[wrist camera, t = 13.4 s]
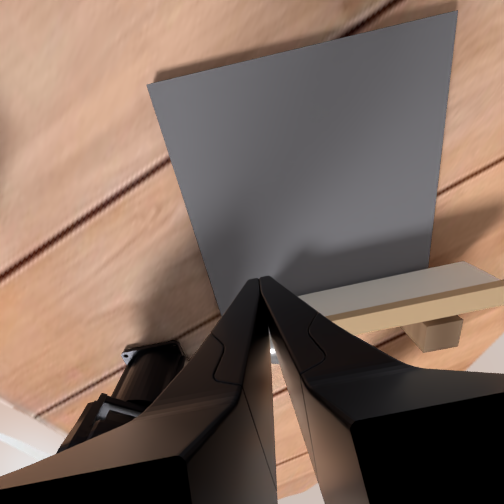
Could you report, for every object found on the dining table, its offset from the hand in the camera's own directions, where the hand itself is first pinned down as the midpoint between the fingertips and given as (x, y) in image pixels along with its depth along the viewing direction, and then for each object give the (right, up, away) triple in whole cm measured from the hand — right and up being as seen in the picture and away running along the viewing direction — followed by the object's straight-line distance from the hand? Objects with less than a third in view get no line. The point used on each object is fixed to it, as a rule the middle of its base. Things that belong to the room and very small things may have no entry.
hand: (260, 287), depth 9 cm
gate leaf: (+12, -2, +14) cm, 18 cm away
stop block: (+16, -3, +17) cm, 23 cm away
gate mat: (+5, +5, +12) cm, 14 cm away
